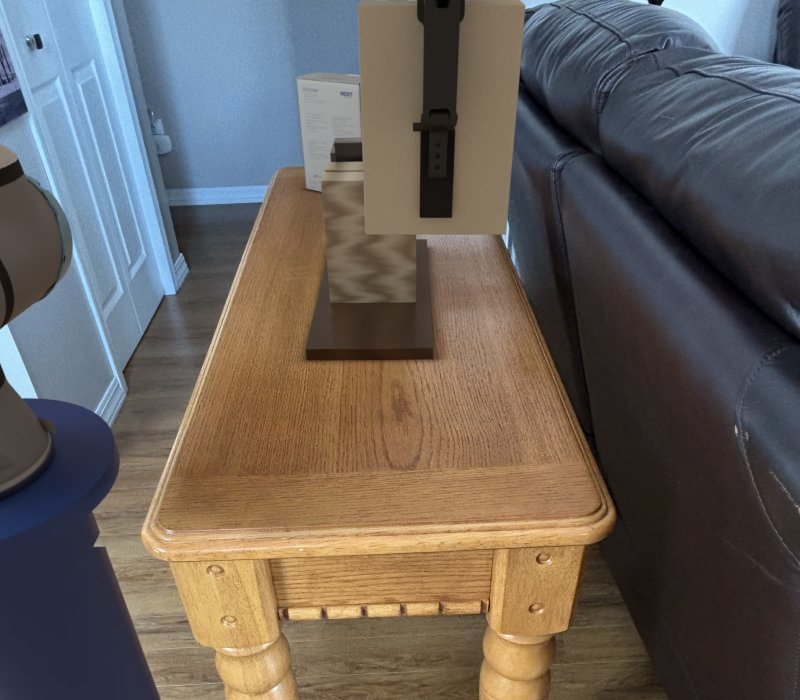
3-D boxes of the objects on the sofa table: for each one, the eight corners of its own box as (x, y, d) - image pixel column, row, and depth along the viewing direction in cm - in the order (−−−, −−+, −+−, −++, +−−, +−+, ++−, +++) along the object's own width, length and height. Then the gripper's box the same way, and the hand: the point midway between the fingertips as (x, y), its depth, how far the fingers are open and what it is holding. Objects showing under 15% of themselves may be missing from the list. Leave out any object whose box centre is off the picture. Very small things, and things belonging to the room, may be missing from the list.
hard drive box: (387, 191, 149) (384, 76, 136) (364, 201, 144) (360, 83, 131) (327, 180, 156) (319, 70, 143) (303, 189, 151) (293, 76, 138)
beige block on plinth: (306, 359, 93) (289, 197, 81) (331, 249, 124) (322, 118, 111) (432, 358, 93) (435, 195, 80) (426, 248, 124) (428, 117, 111)
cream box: (365, 234, 63) (357, 5, 53) (367, 219, 66) (360, 0, 56) (506, 234, 63) (525, 4, 52) (502, 219, 66) (519, -1, 55)
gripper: (514, -180, 42) (485, 242, 57) (491, -159, 55) (473, 180, 70) (382, -178, 42) (388, 242, 57) (390, -158, 55) (394, 180, 70)
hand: (435, 207), depth 63 cm, fingers closed on cream box, 4 cm apart
